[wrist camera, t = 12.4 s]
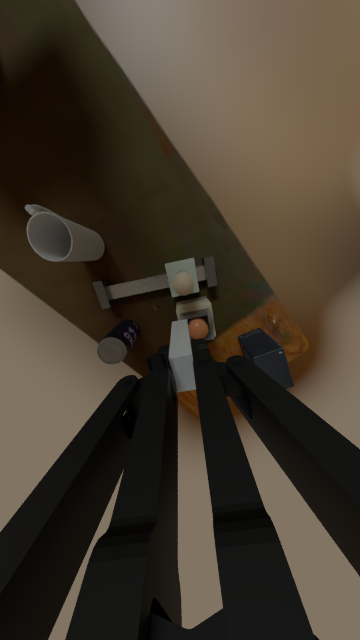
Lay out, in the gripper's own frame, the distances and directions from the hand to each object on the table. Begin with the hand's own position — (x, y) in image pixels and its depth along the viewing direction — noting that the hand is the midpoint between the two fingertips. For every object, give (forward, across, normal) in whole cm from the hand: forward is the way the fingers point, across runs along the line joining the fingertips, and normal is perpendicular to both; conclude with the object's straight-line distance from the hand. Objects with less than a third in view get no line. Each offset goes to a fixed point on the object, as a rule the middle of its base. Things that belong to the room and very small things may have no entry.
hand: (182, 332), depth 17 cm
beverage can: (+24, -15, -7) cm, 29 cm away
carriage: (+24, +1, +3) cm, 24 cm away
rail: (+24, -5, +3) cm, 25 cm away
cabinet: (+24, +2, -6) cm, 25 cm away
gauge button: (+16, +2, -6) cm, 17 cm away
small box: (+24, +16, -19) cm, 35 cm away
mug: (+25, -18, +15) cm, 34 cm away
